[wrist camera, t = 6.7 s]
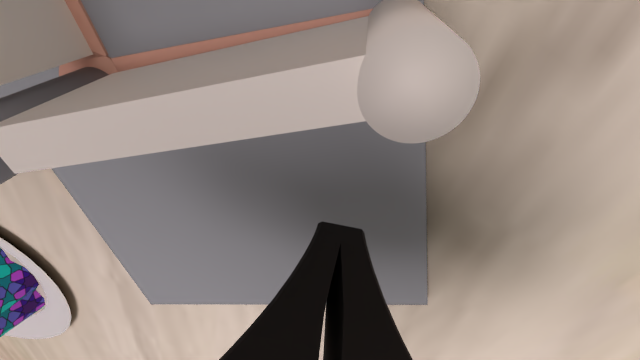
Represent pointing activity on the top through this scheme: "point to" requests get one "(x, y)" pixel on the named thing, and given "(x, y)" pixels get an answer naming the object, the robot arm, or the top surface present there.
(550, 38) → the top surface
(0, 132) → the fence gate
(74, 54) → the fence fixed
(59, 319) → the pudding
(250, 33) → the card
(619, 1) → the top surface
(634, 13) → the top surface
